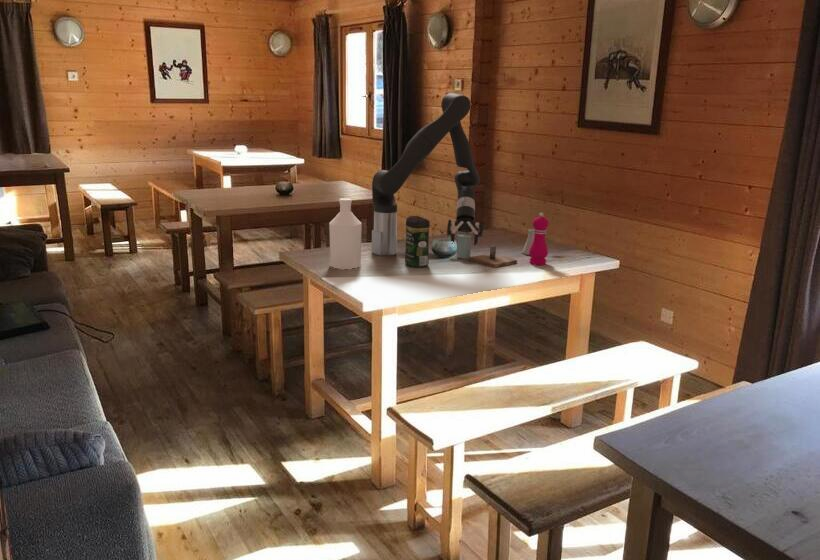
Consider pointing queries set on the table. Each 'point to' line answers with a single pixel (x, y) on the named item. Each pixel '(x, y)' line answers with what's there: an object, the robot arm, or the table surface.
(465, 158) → the robot arm
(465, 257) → the grey canister
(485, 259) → the post stand
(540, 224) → the pepper mill
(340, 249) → the bottle
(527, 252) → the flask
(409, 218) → the coffee jar
